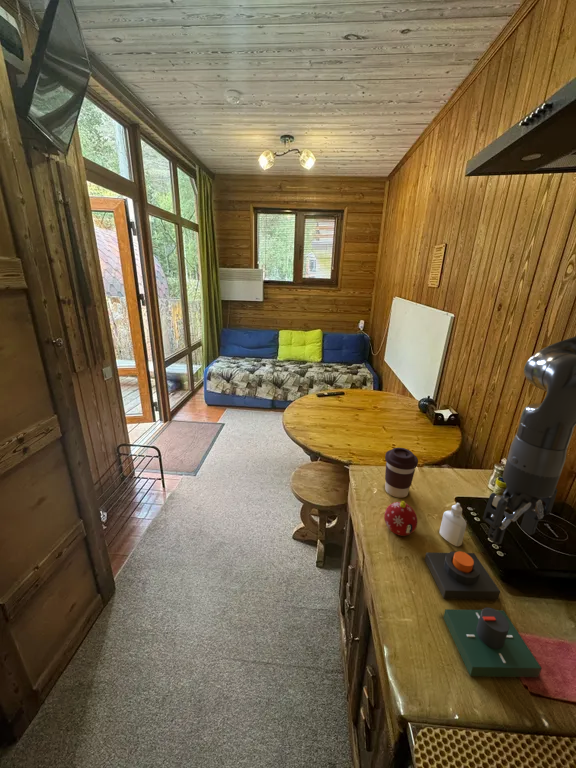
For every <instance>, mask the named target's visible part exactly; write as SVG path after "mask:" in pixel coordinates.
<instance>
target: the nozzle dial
mask: <svg viewBox="0 0 576 768" xmlns="http://www.w3.org/2000/svg"><path fill="white" fill-rule="evenodd" d="M481 610H482V611H481V614H480V618H479V621H478V625H477V628H476V631H477V634H478V636H479V638H480V639H481V641H482V642H483V643H485V644H486V645H487V646H489V647H491V648H493V649H500V648H502V647H503V645H504V642H505V639H506V636H507V634H508V631H509V623H508V621H507V619H506V618H505V617H504V616H503V615H502V614H501V613H500V612H499V611H497V610H498V609H495V608H493V607H484V608H482V609H481Z"/></svg>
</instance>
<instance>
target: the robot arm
mask: <svg viewBox="0 0 576 768" xmlns="http://www.w3.org/2000/svg"><path fill="white" fill-rule="evenodd" d="M523 374H524V378H525V379H526V381H528V382H529V384H531V385H532V386H534V387H536V388H537V389H540V390H542V391H545V393H546V394H545V397H544V399H543V400H542V402H541V403H540V402H538V403H530V404H528V405H526V406H525V407H524V408H523V410H522V412H521V415H520V418H519V421H518V422H519V423H518V425H517V428H516V433H515V435H514V437H513V439H512V442H511V444H510V447H509V451H508V453H507V457H506V461H505V465H504V468H503V472H502V480H503V482H504V483H505V486H506V488H505V490H504V492H503V493H502V494H499V495H498V494H497V493H495V492H491V494H489V497H488V500H487V503H486V506H485V509H484V513H483V516H482V521H483V522H484V521H485V523H487V524H488V525H489V529H488V532H487V538H488V539H489V540H490V541H492V542H493V544H495V545H497V546H498V545H501V544H502V543H503V539H504V535H505V532H506V528H508V526H509V525H510V524H511V522H512V523H516V521H517V520H519V518H520V517H521V516H522V515H523V517H522V520H521V523H520V529H522V531H524V532H525V533H527V534H528V535H530V536H532V535H534V534H535V533H536V530H537V527H538V524H539V521H540V520H542V519H543V518H544V516H545V515H546V516H548V515H550V514H551V513H552V509H553V507H554V503H555V500H556V497H557V493H558V488H557V485H558V483H559V480H560V478H561V474H562V472H563V468H564V466H565V463H566V459H567V454H568V453H567V452H568V447H569V446H570V442H571V440H572V436H573V433H574V429H575V426H576V335H575V336H573V337H569V338H566V339H563V340H560V341H557V342H554V343H552V344H549V345H547V346H545V347H543V348H541V349H539V350H538V351H536V352H535V353H533V354H532V355H531V356H530V357H529V358H528V360H527V361H526V363H525V365H524V368H523ZM543 502H544V503H545V505H544V504H543ZM506 510H508V511H510V512H512V513H509V512H507V511H506ZM544 514H545V515H544ZM504 517H505V518H504ZM503 518H504V519H503ZM502 519H503V520H502Z"/></svg>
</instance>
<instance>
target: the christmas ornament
mask: <svg viewBox="0 0 576 768" xmlns="http://www.w3.org/2000/svg"><path fill="white" fill-rule="evenodd" d="M384 522H385V524H386V527H387V528H388V530H390V532H392V533H393V534H395V535H397V536H403V537H405V536H409V535H411V534H412V533H414V532H415V530H416V529H417V526H418V516H417V513H416V511H415V510H414V509H413V507H412V506H410V504H408V503H406V502H405V500H401V501H394V502H391V503H390V504H388V506H387V507H386V508H385V511H384Z"/></svg>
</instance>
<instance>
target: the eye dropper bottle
mask: <svg viewBox="0 0 576 768" xmlns="http://www.w3.org/2000/svg"><path fill="white" fill-rule="evenodd" d="M462 513H463V508H462V506H461V503H460V502H456V503H455V504H452V505H451V509H449V510H445V511H444V512H443V514H442V518H441V523H440V527H439V532H438V533H439V535H440V536H441V537H442V538H443V539H444V540H445V541H447V543H449V544H451V545H453V546H455V547H460V546H462V544H463V541H464V538H465V537H464V536H465V533H466V529H467V521H466V520H465V519H464V517H463V516H462Z"/></svg>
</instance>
